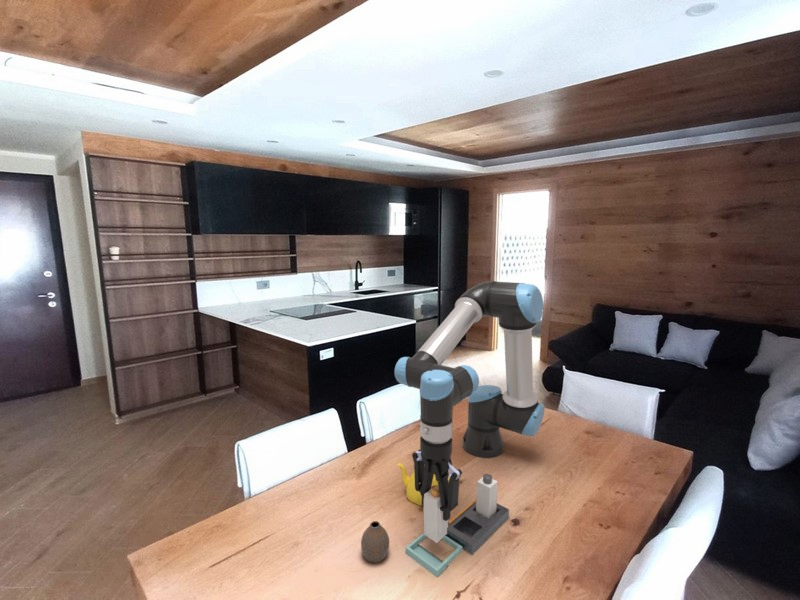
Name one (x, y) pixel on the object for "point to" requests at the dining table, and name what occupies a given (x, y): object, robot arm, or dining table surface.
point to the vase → (375, 542)
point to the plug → (432, 514)
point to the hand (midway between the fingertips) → (435, 524)
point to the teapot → (413, 485)
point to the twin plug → (486, 496)
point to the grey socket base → (474, 527)
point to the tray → (431, 555)
